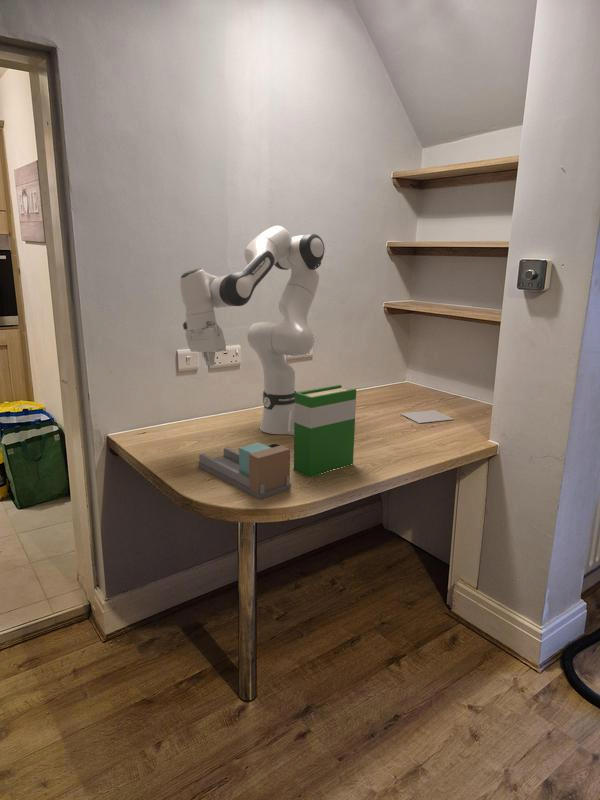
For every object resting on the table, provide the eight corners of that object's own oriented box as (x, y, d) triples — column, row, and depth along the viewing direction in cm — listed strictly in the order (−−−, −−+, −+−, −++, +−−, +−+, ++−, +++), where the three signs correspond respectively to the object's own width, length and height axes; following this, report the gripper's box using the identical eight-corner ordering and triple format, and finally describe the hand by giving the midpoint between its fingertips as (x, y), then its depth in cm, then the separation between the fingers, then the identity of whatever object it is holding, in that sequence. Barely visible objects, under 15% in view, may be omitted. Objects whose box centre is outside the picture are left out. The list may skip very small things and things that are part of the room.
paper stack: (469, 427, 219) (470, 425, 219) (414, 434, 210) (414, 432, 209) (433, 411, 240) (434, 410, 240) (381, 416, 230) (381, 415, 230)
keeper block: (259, 472, 166) (259, 442, 163) (274, 479, 161) (274, 449, 158) (239, 478, 161) (239, 447, 159) (254, 485, 156) (254, 454, 154)
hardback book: (336, 457, 183) (339, 384, 177) (353, 464, 178) (356, 389, 172) (293, 469, 173) (294, 392, 167) (309, 477, 167) (311, 397, 161)
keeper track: (228, 459, 180) (227, 424, 177) (290, 488, 159) (291, 449, 156) (198, 467, 173) (197, 430, 170) (259, 499, 152) (259, 458, 149)
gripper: (226, 319, 173) (234, 363, 176) (197, 321, 190) (206, 362, 193) (207, 322, 170) (216, 368, 172) (180, 325, 186) (188, 366, 189)
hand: (210, 365), depth 183 cm, fingers closed
